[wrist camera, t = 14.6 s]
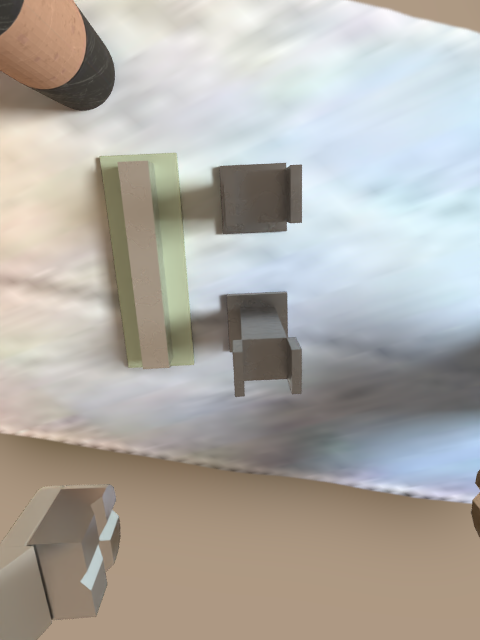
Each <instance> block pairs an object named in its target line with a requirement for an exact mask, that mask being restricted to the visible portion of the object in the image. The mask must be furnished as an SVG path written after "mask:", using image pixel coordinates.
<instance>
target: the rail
mask: <svg viewBox="0 0 480 640" xmlns="http://www.w3.org/2000/svg"><path fill="white" fill-rule="evenodd" d="M117 163H118V171H119V179H120V187H121V195H122V203H123V211H124V219H125V227H126V235H127V243H128V251H129V259H130V267H131V276H132V284H133V292H134V300H135V308H136V316H137V324H138V332H139V340H140V348H141V356H142V364H143V369H153V368H169V367H170V365H171V363H172V360H173V349H172V339H171V329H170V319H169V308H168V298H167V288H166V278H165V268H164V258H163V248H162V238H161V228H160V218H159V208H158V197H157V187H156V177H155V167H154V163H152V162H150V161H126V162H117Z"/></svg>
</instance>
